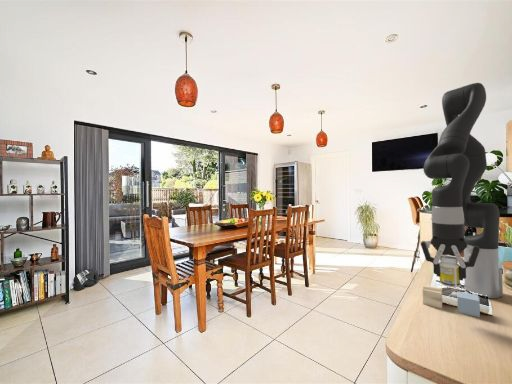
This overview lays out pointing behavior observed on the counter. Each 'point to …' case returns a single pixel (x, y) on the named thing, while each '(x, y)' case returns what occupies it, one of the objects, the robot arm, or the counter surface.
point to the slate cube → (468, 304)
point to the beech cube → (432, 296)
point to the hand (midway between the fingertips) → (449, 277)
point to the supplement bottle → (449, 271)
